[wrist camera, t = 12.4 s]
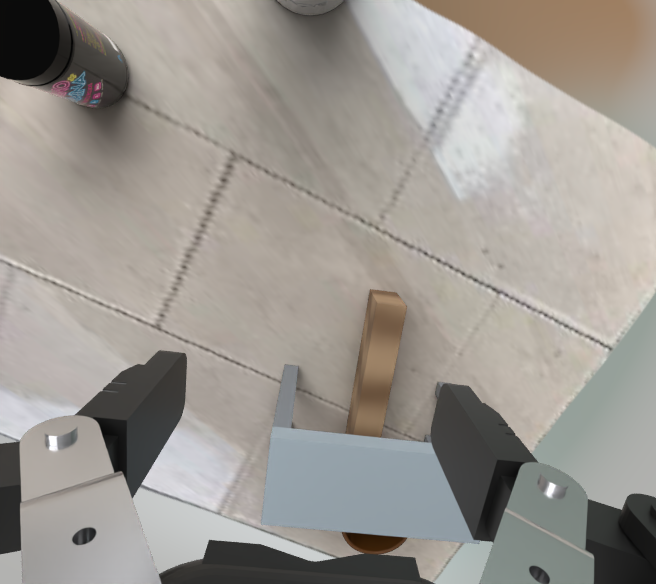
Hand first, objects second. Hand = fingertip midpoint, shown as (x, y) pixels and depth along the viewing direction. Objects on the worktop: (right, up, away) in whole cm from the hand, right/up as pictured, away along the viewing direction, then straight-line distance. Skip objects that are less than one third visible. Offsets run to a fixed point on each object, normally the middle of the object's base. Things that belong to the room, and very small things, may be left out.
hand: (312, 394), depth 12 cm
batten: (+5, -6, +33) cm, 34 cm away
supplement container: (-22, +24, +24) cm, 41 cm away
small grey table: (+5, -11, +34) cm, 36 cm away
